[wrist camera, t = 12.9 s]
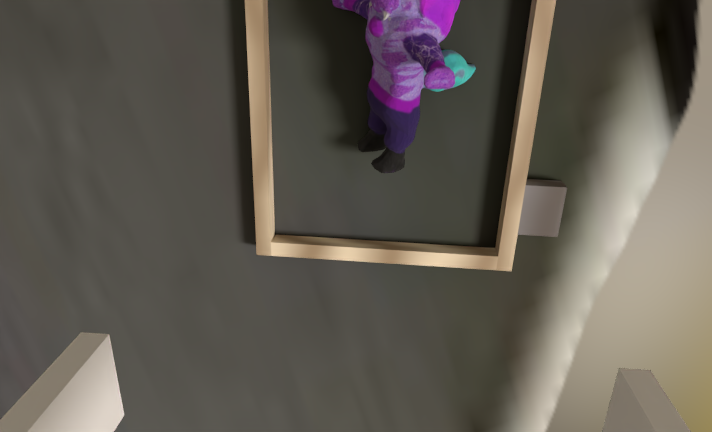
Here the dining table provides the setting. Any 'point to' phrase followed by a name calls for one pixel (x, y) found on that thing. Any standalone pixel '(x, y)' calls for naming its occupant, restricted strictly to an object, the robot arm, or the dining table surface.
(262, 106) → the pocket frame
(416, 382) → the dining table surface
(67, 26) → the dining table surface
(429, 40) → the toy
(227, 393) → the dining table surface
